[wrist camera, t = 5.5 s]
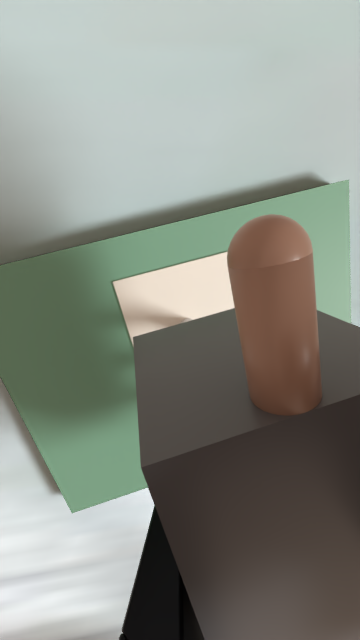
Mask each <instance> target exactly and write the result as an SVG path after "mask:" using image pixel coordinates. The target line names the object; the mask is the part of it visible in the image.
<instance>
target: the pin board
mask: <svg viewBox="0 0 360 640" xmlns="http://www.w3.org/2000/svg"><path fill="white" fill-rule="evenodd" d="M269 214H275V215H283V216H286V217H289V218H291V219H293V220H295V221H296V222H297V223H299V224H300V225H301V226H302V227H303V228H304V230H305V231H306V232H307V234H308V236H309V238H310V240H311V243H312V249H313V262H314V277H315V292H316V307H317V310H319V311H321V312H323V313H326V314H328V315H331V316H333V317H336V318H338V319H341V320H343V321H345V322H348V323H350V324H351V286H350V224H349V180H345V181H341V182H336V183H332V184H328V185H324V186H320V187H316V188H312V189H308V190H304V191H300V192H295V193H291V194H287V195H283V196H279V197H275V198H271V199H267V200H263V201H259V202H255V203H251V204H247V205H243V206H239V207H235V208H230V209H226V210H222V211H218V212H214V213H210V214H206V215H202V216H198V217H194V218H190V219H186V220H182V221H178V222H174V223H170V224H166V225H161V226H157V227H153V228H149V229H145V230H141V231H137V232H133V233H129V234H125V235H121V236H117V237H113V238H109V239H105V240H101V241H96V242H92V243H88V244H84V245H80V246H76V247H72V248H68V249H64V250H60V251H56V252H52V253H48V254H44V255H40V256H36V257H31V258H27V259H23V260H19V261H15V262H11V263H7V264H3V265H0V377H1V379H2V381H3V383H4V385H5V387H6V389H7V390H8V392H9V394H10V396H11V398H12V400H13V402H14V404H15V406H16V408H17V409H18V411H19V413H20V415H21V417H22V419H23V421H24V423H25V425H26V427H27V428H28V430H29V432H30V434H31V436H32V438H33V440H34V442H35V444H36V446H37V448H38V449H39V451H40V453H41V455H42V457H43V459H44V461H45V463H46V465H47V467H48V468H49V470H50V472H51V474H52V476H53V478H54V480H55V482H56V484H57V486H58V488H59V489H60V491H61V493H62V495H63V497H64V499H65V501H66V503H67V505H68V507H69V508H70V510H71V512H72V513H74V512H77V511H80V510H83V509H86V508H89V507H92V506H95V505H98V504H101V503H103V502H106V501H109V500H112V499H115V498H118V497H121V496H124V495H127V494H130V493H133V492H136V491H139V490H142V489H145V488H148V486H147V483H146V480H145V478H144V475H143V472H142V469H141V462H140V446H139V429H138V412H137V396H136V379H135V363H134V346H133V337H135V336H138V335H142V334H145V333H149V332H152V331H156V330H159V329H163V328H166V327H170V326H173V325H177V324H180V323H184V322H187V321H191V320H194V319H198V318H201V317H205V316H208V315H212V314H215V313H219V312H222V311H226V310H229V309H233V308H235V307H234V301H233V296H232V290H231V284H230V278H229V272H228V267H227V252H228V248H229V245H230V242H231V240H232V238H233V236H234V235H235V233H236V232H237V231H238V230H239V229H240V228H241V227H242V226H243V225H244V224H245V223H247V222H248V221H250V220H252V219H254V218H256V217H259V216H262V215H269Z"/></svg>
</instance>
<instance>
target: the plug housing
mask: <svg viewBox="0 0 360 640" xmlns="http://www.w3.org/2000/svg"><path fill="white" fill-rule="evenodd" d="M227 267H228V272H229V278H230V284H231V290H232V296H233V301H234V307H235V308H233V309H229V310H226V311H222V312H219V313H215V314H212V315H208V316H205V317H201V318H198V319H194V320H191V321H187V322H184V323H180V324H177V325H173V326H170V327H166V328H163V329H159V330H156V331H152V332H149V333H145V334H142V335H138V336H135V337H133V346H134V363H135V379H136V396H137V412H138V429H139V446H140V462H141V469H142V472H143V475H144V478H145V480H146V483H147V486H148V488H149V491H150V494H151V496H152V499H153V502H154V504H155V507H156V510H157V512H158V515H159V518H160V521H161V523H162V526H163V529H164V531H165V534H166V537H167V539H168V542H169V545H170V547H171V550H172V553H173V556H174V558H175V561H176V564H177V566H178V569H179V572H180V574H181V577H182V580H183V582H184V585H185V588H186V591H187V593H188V596H189V599H190V601H191V604H192V607H193V609H194V612H195V615H196V617H197V620H198V623H199V626H200V628H201V631H202V634H203V636H204V639H205V640H360V327H358V326H355V325H353V324H350V323H348V322H345V321H343V320H341V319H338V318H336V317H333V316H331V315H328V314H326V313H323V312H321V311H319V310H317V307H316V292H315V277H314V262H313V249H312V243H311V240H310V238H309V236H308V234H307V232H306V231H305V230H304V228H303V227H302V226H301V225H300V224H299V223H297V222H296V221H295V220H293V219H291V218H289V217H286V216H283V215H275V214H269V215H262V216H259V217H256V218H254V219H252V220H250V221H248V222H247V223H245V224H244V225H243V226H242V227H241V228H240V229H239V230H238V231H237V232H236V233H235V235H234V236H233V238H232V240H231V242H230V245H229V248H228V252H227Z"/></svg>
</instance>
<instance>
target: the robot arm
mask: <svg viewBox="0 0 360 640" xmlns="http://www.w3.org/2000/svg"><path fill="white" fill-rule="evenodd" d="M122 632H123V634H121V635H120V638H119V640H205V639H204V636H203V634H202V631H201V628H200V626H199V623H198V620H197V617H196V615H195V612H194V609H193V607H192V604H191V601H190V599H189V596H188V593H187V591H186V588H185V585H184V582H183V580H182V577H181V574H180V572H179V569H178V566H177V564H176V561H175V558H174V556H173V553H172V550H171V547H170V545H169V542H168V539H167V537H166V534H165V531H164V529H163V526H162V523H161V521H160V518H159V515H158V512H157V510H156V507H155V506H154V510H153V514H152V518H151V521H150V525H149V529H148V533H147V536H146V540H145V544H144V548H143V552H142V555H141V559H140V563H139V567H138V570H137V574H136V578H135V582H134V585H133V589H132V593H131V597H130V601H129V604H128V608H127V612H126V616H125V619H124V623H123V627H122Z"/></svg>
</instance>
